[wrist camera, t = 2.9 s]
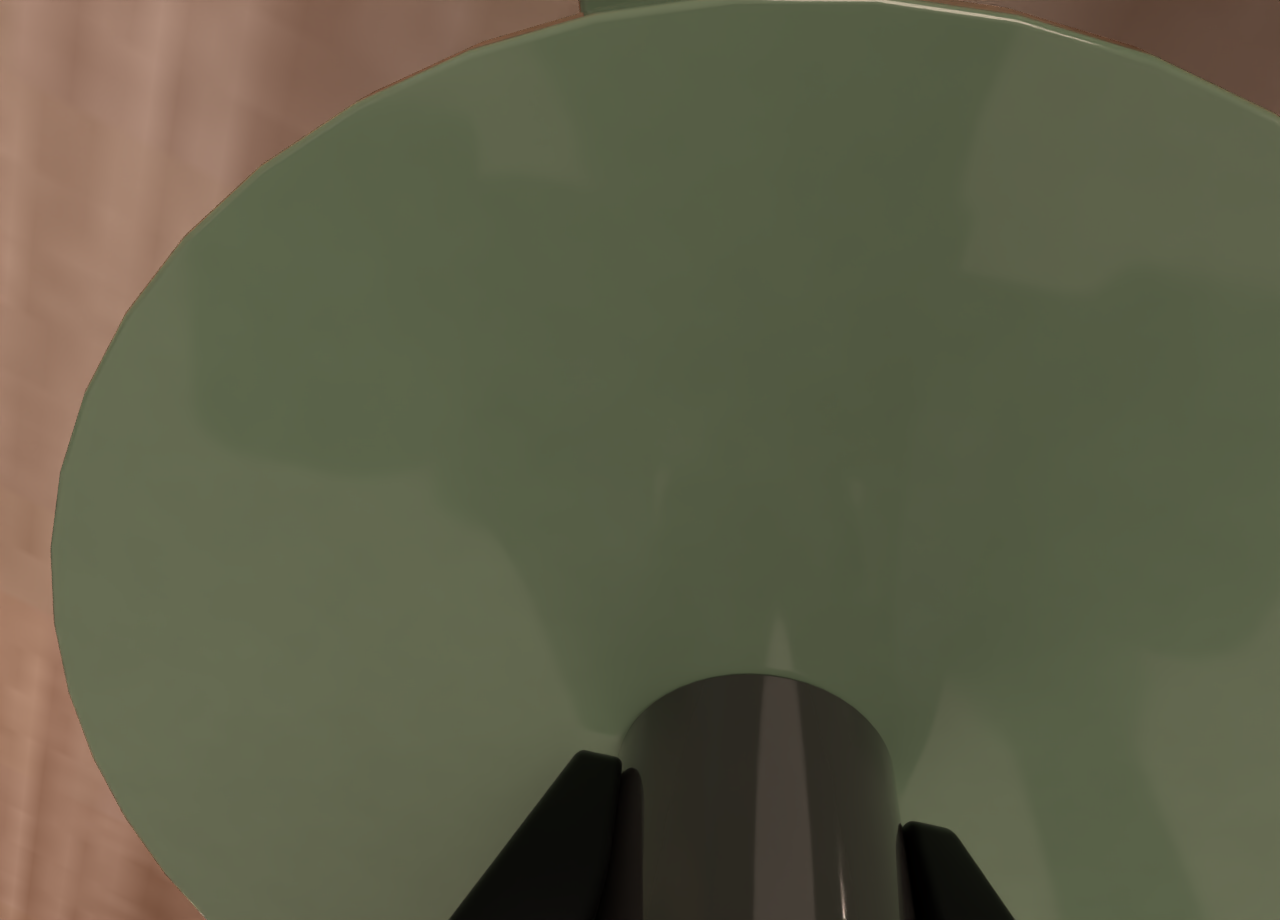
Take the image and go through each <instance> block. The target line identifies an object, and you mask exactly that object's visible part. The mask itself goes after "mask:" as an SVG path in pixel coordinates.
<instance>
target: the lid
mask: <svg viewBox="0 0 1280 920" xmlns="http://www.w3.org/2000/svg"><path fill="white" fill-rule="evenodd" d="M51 569H52V591H53V612H54V625H55V630H56V635H57V639H58V644H59V649H60V654H61V659H62V663H63V668H64V673H65V678H66V682H67V687H68V692H69V695H70V697H71V700H72V703H73V706H74V708H75V711H76V714H77V716H78V719H79V722H80V724H81V727H82V730H83V733H84V735H85V738H86V741H87V743H88V746H89V749H90V751H91V754H92V757H93V759H94V761H95V763H96V764H97V766H98V768H99V770H100V772H101V774H102V776H103V777H104V779H105V781H106V783H107V785H108V787H109V789H110V791H111V792H112V794H113V796H114V798H115V800H116V802H117V804H118V805H119V807H120V809H121V811H122V813H123V815H124V817H125V818H126V820H127V821H128V823H129V824H130V825H131V827H132V828H133V830H134V831H135V832H136V834H137V835H138V837H139V838H140V840H141V841H142V842H143V844H144V845H145V847H146V848H147V849H148V851H149V852H150V854H151V855H152V856H153V858H154V859H155V861H156V862H157V864H158V865H159V866H160V868H161V869H162V871H163V872H164V873H165V874H166V876H167V877H168V878H169V879H170V880H171V881H172V882H173V883H174V884H175V886H176V887H177V888H178V889H179V890H180V891H181V892H182V893H183V895H184V896H185V897H186V898H187V899H188V900H189V901H190V902H191V904H192V905H193V906H194V907H195V908H196V909H197V910H198V911H199V912H200V914H201V915H202V916H203V917H204V918H205V919H206V920H449V918H450V917H451V916H452V914H453V913H454V912H455V910H456V909H457V908H458V906H459V905H460V904H461V903H462V901H463V900H464V899H465V897H466V896H467V895H468V893H469V892H470V891H471V889H472V888H473V887H474V885H475V884H476V883H477V882H478V880H479V879H480V878H481V876H482V875H483V874H484V872H485V871H486V870H487V868H488V867H489V866H490V865H491V863H492V862H493V861H494V859H495V858H496V857H497V855H498V854H499V853H500V851H501V850H502V849H503V848H504V846H505V845H506V844H507V842H508V841H509V840H510V838H511V837H512V836H513V834H514V833H515V832H516V830H517V829H518V828H519V827H520V825H521V824H522V823H523V821H524V820H525V819H526V817H527V816H528V815H529V813H530V812H531V811H532V810H533V808H534V807H535V806H536V804H537V803H538V802H539V800H540V799H541V798H542V796H543V795H544V794H545V792H546V791H547V790H548V789H549V787H550V786H551V785H552V783H553V782H554V781H555V779H556V778H557V777H558V775H559V774H560V773H561V772H562V770H563V769H564V768H565V766H566V765H567V764H568V762H569V761H570V760H571V758H572V757H573V756H574V755H575V754H576V753H577V752H578V751H581V750H588V751H593V752H597V753H602V754H606V755H611V756H615V757H618V758H619V759H620V760H621V762H622V773H621V780H620V787H619V795H618V802H617V809H616V817H615V824H614V832H613V839H612V846H611V854H610V860H609V865H608V871H607V876H606V880H605V884H604V888H603V891H602V895H601V899H600V903H599V906H598V910H597V914H596V918H595V920H916V917H915V910H914V903H913V896H912V890H911V883H910V876H909V869H908V862H907V856H906V849H905V842H904V835H903V828H902V827H903V825H904V824H906V823H907V822H909V821H917V822H922V823H926V824H931V825H936V826H940V827H945V828H948V829H950V830H951V831H952V832H954V833H955V834H956V835H957V836H958V838H959V839H960V840H961V842H962V843H963V845H964V846H965V848H966V849H967V851H968V852H969V854H970V855H971V856H972V858H973V859H974V861H975V862H976V864H977V865H978V867H979V868H980V869H981V871H982V872H983V874H984V875H985V877H986V878H987V880H988V881H989V883H990V884H991V885H992V887H993V888H994V890H995V891H996V893H997V894H998V896H999V897H1000V898H1001V900H1002V901H1003V903H1004V904H1005V906H1006V907H1007V909H1008V910H1009V912H1010V913H1011V914H1012V916H1013V917H1014V919H1015V920H1280V116H1279V115H1277V114H1276V113H1274V112H1272V111H1270V110H1268V109H1266V108H1264V107H1262V106H1260V105H1257V104H1255V103H1253V102H1251V101H1249V100H1247V99H1245V98H1243V97H1241V96H1239V95H1236V94H1234V93H1232V92H1230V91H1228V90H1226V89H1224V88H1222V87H1220V86H1218V85H1215V84H1213V83H1211V82H1209V81H1207V80H1205V79H1203V78H1201V77H1199V76H1197V75H1194V74H1192V73H1190V72H1188V71H1186V70H1184V69H1182V68H1180V67H1178V66H1176V65H1173V64H1171V63H1169V62H1167V61H1165V60H1163V59H1161V58H1159V57H1157V56H1155V55H1152V54H1150V53H1148V52H1146V51H1144V50H1142V49H1140V48H1138V47H1135V46H1133V45H1129V44H1126V43H1123V42H1119V41H1116V40H1113V39H1109V38H1106V37H1103V36H1099V35H1096V34H1093V33H1089V32H1086V31H1083V30H1079V29H1076V28H1073V27H1069V26H1066V25H1063V24H1059V23H1056V22H1053V21H1049V20H1046V19H1043V18H1039V17H1036V16H1033V15H1029V14H1026V13H1023V12H1019V11H1016V10H1013V9H1009V8H1006V7H999V6H992V5H985V4H978V3H972V2H965V1H958V0H643V1H636V2H629V3H622V4H614V5H607V6H602V7H599V8H595V9H592V10H588V11H585V12H582V13H578V14H575V15H571V16H568V17H564V18H561V19H558V20H554V21H551V22H547V23H544V24H540V25H537V26H534V27H530V28H527V29H523V30H520V31H516V32H513V33H510V34H506V35H503V36H499V37H496V38H492V39H489V40H486V41H482V42H480V43H478V44H476V45H474V46H471V47H469V48H467V49H465V50H463V51H461V52H458V53H456V54H454V55H452V56H450V57H447V58H445V59H443V60H441V61H439V62H437V63H434V64H432V65H430V66H428V67H426V68H424V69H421V70H419V71H417V72H415V73H413V74H411V75H408V76H406V77H404V78H402V79H400V80H398V81H395V82H393V83H391V84H389V85H387V86H385V87H382V88H380V89H378V90H376V91H374V92H372V93H370V94H369V95H367V96H365V97H363V98H361V99H360V100H358V101H356V102H355V103H353V104H352V105H350V106H349V107H347V108H346V109H344V110H343V111H341V112H340V113H338V114H337V115H335V116H334V117H332V118H331V119H329V120H328V121H326V122H325V123H323V124H322V125H320V126H319V127H317V128H316V129H314V130H313V131H311V132H310V133H308V134H307V135H305V136H304V137H302V138H301V139H299V140H298V141H296V142H294V143H293V144H291V145H290V146H288V147H287V148H285V149H284V150H282V151H281V152H279V153H278V154H276V155H275V156H273V157H272V158H270V159H269V160H267V161H266V162H264V163H263V164H261V165H260V166H259V167H258V168H257V169H256V170H255V171H254V172H253V173H252V174H251V175H249V176H248V177H247V178H246V179H245V180H244V181H243V182H242V183H241V184H240V185H239V186H238V187H237V188H235V189H234V190H233V191H232V192H231V193H230V194H229V195H228V196H227V197H226V198H225V199H224V200H223V201H221V202H220V203H219V204H218V205H217V206H216V207H215V208H214V209H213V210H212V211H211V212H210V213H209V214H207V215H206V216H205V217H204V218H203V219H202V220H201V221H200V222H199V223H198V224H197V225H196V226H195V227H193V228H192V229H191V230H190V231H189V232H188V233H187V234H186V235H185V236H184V237H183V238H182V240H181V241H180V242H179V244H178V245H177V246H176V248H175V249H174V250H173V251H172V253H171V254H170V255H169V257H168V258H167V259H166V261H165V262H164V263H163V265H162V266H161V267H160V268H159V270H158V271H157V272H156V274H155V275H154V276H153V278H152V279H151V280H150V282H149V283H148V284H147V285H146V287H145V288H144V289H143V291H142V292H141V293H140V295H139V296H138V297H137V299H136V300H135V301H134V302H133V304H132V305H131V306H130V308H129V309H128V310H127V312H126V313H125V315H124V317H123V319H122V321H121V323H120V325H119V327H118V329H117V331H116V333H115V334H114V336H113V338H112V340H111V342H110V344H109V346H108V348H107V350H106V352H105V354H104V356H103V358H102V360H101V361H100V363H99V365H98V367H97V369H96V371H95V373H94V375H93V377H92V379H91V381H90V383H89V385H88V387H87V388H86V390H85V394H84V397H83V400H82V403H81V406H80V410H79V413H78V416H77V419H76V423H75V426H74V429H73V432H72V435H71V439H70V442H69V445H68V448H67V452H66V455H65V458H64V461H63V465H62V468H61V471H60V478H59V486H58V494H57V502H56V510H55V518H54V526H53V534H52V542H51Z"/></svg>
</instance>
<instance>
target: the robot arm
mask: <svg viewBox="0 0 1280 920" xmlns="http://www.w3.org/2000/svg"><path fill="white" fill-rule="evenodd" d="M621 773H622V762H621V760H620V759H619V758H618V757H615V756H611V755H606V754H602V753H597V752H593V751H588V750H581V751H578V752H577V753H576V754H575V755H574V756H573V757H572V758H571V760H570V761H569V762H568V764H567V765H566V766H565V768H564V769H563V770H562V772H561V773H560V774H559V775H558V777H557V778H556V779H555V781H554V782H553V783H552V785H551V786H550V787H549V789H548V790H547V791H546V792H545V794H544V795H543V796H542V798H541V799H540V800H539V802H538V803H537V804H536V806H535V807H534V808H533V810H532V811H531V812H530V813H529V815H528V816H527V817H526V819H525V820H524V821H523V823H522V824H521V825H520V827H519V828H518V829H517V830H516V832H515V833H514V834H513V836H512V837H511V838H510V840H509V841H508V842H507V844H506V845H505V846H504V848H503V849H502V850H501V851H500V853H499V854H498V855H497V857H496V858H495V859H494V861H493V862H492V863H491V865H490V866H489V867H488V868H487V870H486V871H485V872H484V874H483V875H482V876H481V878H480V879H479V880H478V882H477V883H476V884H475V885H474V887H473V888H472V889H471V891H470V892H469V893H468V895H467V896H466V897H465V899H464V900H463V901H462V903H461V904H460V905H459V906H458V908H457V909H456V910H455V912H454V913H453V914H452V916H451V917H450V918H449V920H595V918H596V914H597V910H598V906H599V903H600V899H601V895H602V891H603V888H604V884H605V880H606V876H607V871H608V865H609V860H610V854H611V846H612V839H613V832H614V824H615V817H616V809H617V802H618V795H619V787H620V780H621ZM902 828H903V835H904V842H905V849H906V856H907V862H908V869H909V876H910V883H911V890H912V896H913V903H914V910H915V917H916V920H1015V919H1014V917H1013V916H1012V914H1011V913H1010V912H1009V910H1008V909H1007V907H1006V906H1005V904H1004V903H1003V901H1002V900H1001V898H1000V897H999V896H998V894H997V893H996V891H995V890H994V888H993V887H992V885H991V884H990V883H989V881H988V880H987V878H986V877H985V875H984V874H983V872H982V871H981V869H980V868H979V867H978V865H977V864H976V862H975V861H974V859H973V858H972V856H971V855H970V854H969V852H968V851H967V849H966V848H965V846H964V845H963V843H962V842H961V840H960V839H959V838H958V836H957V835H956V834H955V833H954V832H952V831H951V830H950V829H948V828H945V827H940V826H936V825H931V824H926V823H922V822H917V821H909V822H907V823H906V824H904V825H903V827H902Z"/></svg>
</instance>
